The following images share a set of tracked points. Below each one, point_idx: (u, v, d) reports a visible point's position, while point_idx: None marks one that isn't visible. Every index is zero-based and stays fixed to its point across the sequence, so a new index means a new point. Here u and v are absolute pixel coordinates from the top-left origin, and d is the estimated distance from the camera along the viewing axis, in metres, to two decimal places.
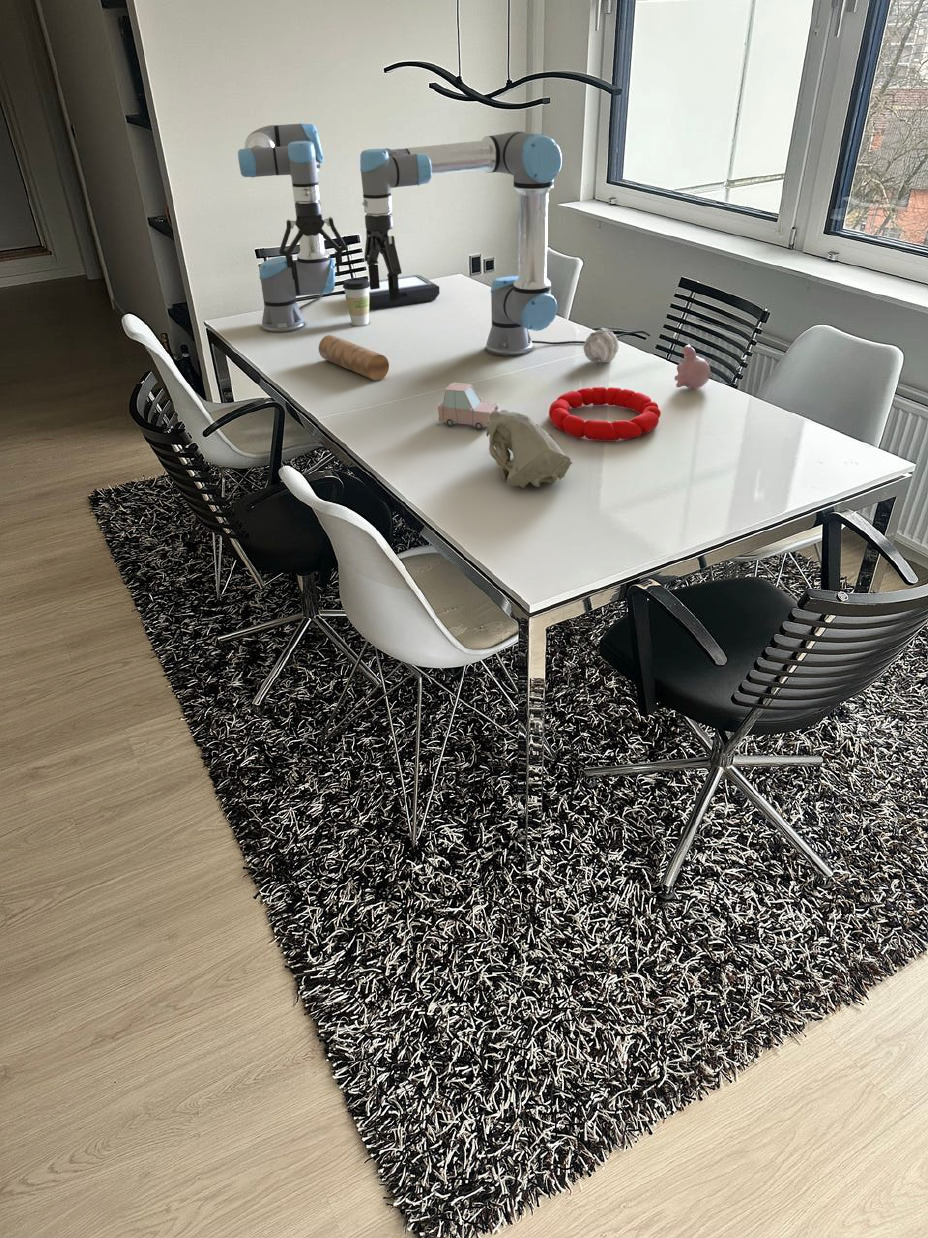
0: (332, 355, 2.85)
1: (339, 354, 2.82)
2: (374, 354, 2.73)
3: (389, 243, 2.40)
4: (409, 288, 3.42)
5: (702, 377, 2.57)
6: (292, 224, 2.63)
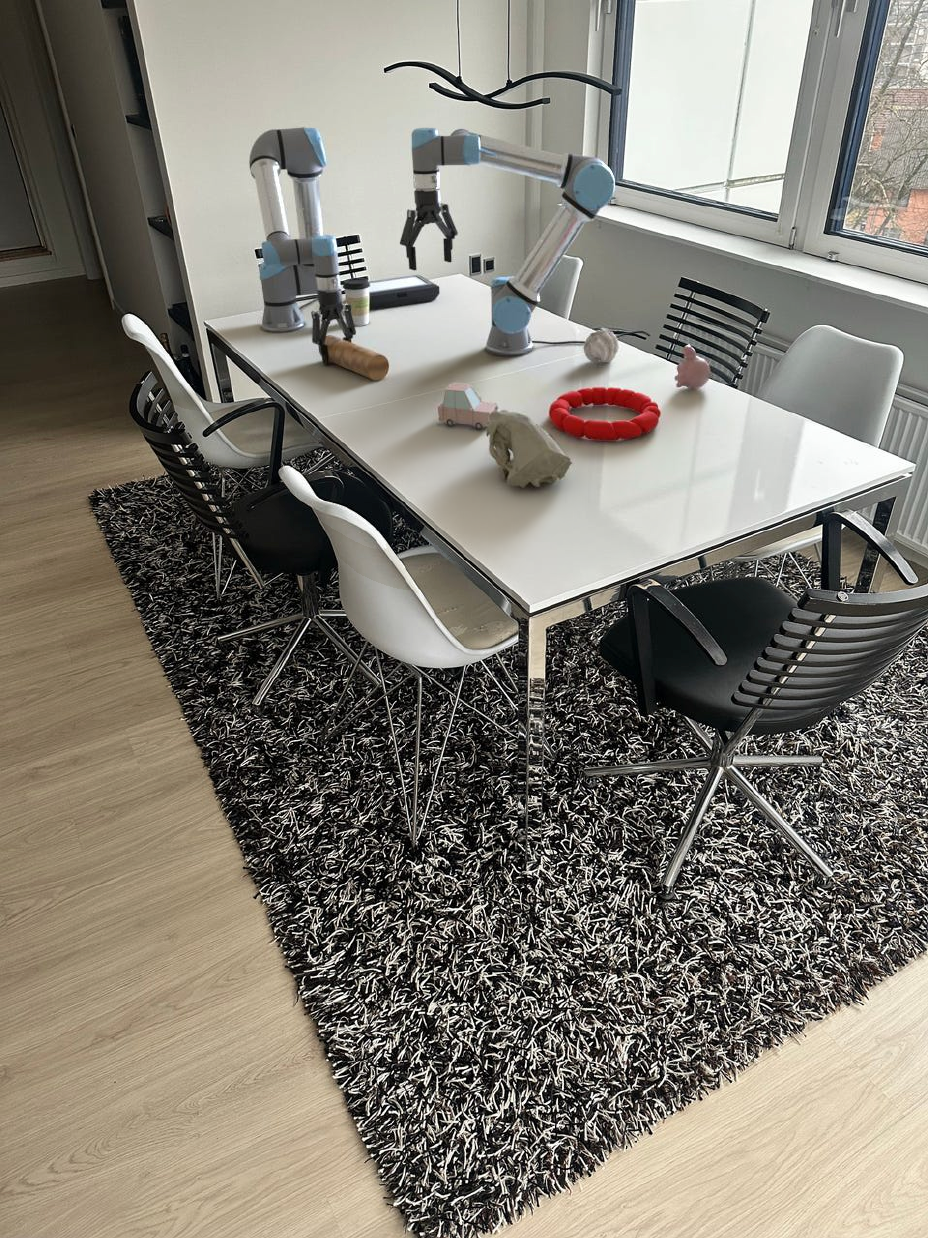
0: (332, 355, 2.85)
1: (339, 354, 2.82)
2: (374, 354, 2.73)
3: None
4: (409, 288, 3.42)
5: (702, 377, 2.57)
6: (318, 314, 2.79)
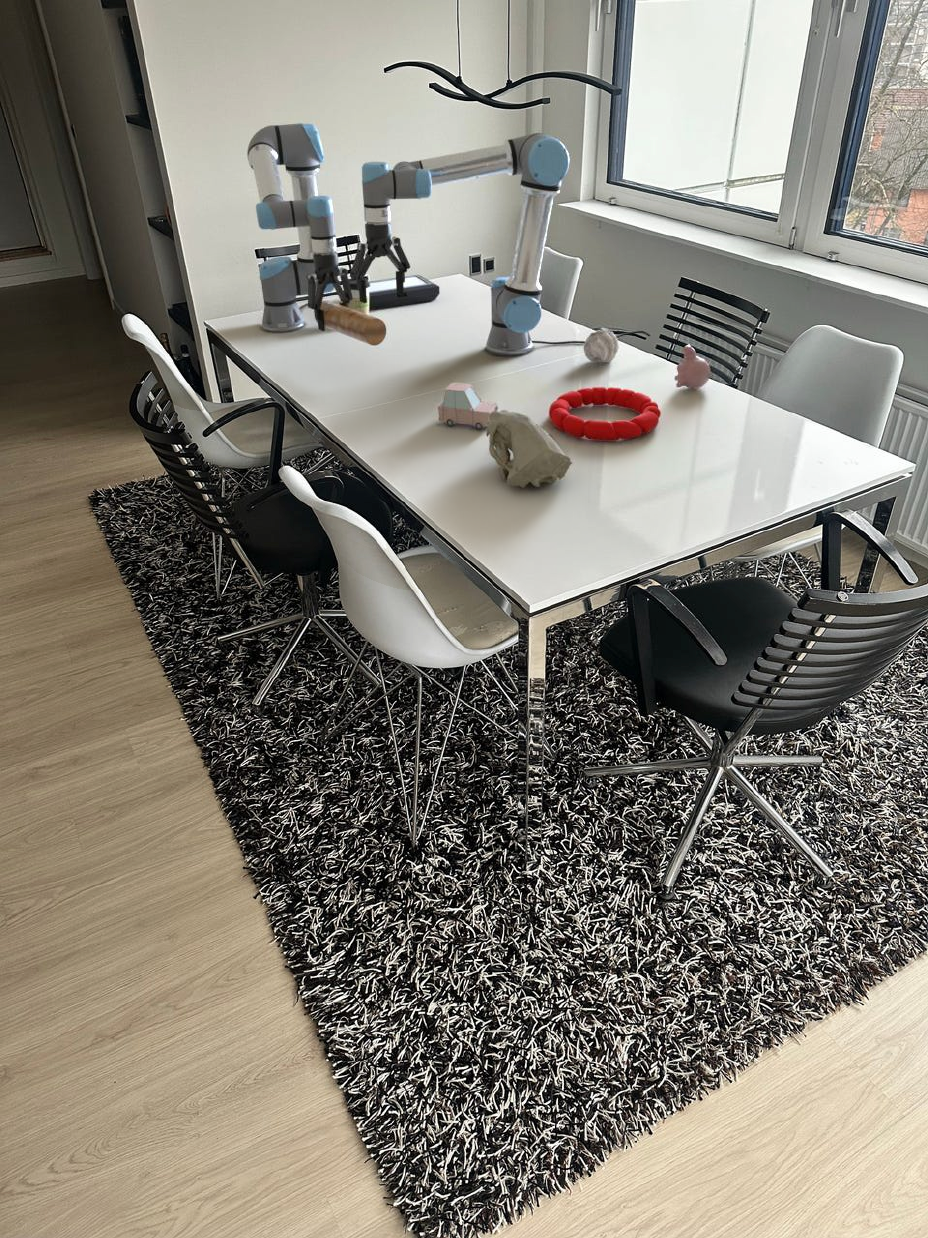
0: (328, 320, 2.79)
1: (335, 319, 2.76)
2: (371, 318, 2.66)
3: None
4: (409, 288, 3.42)
5: (702, 377, 2.57)
6: (314, 277, 2.73)
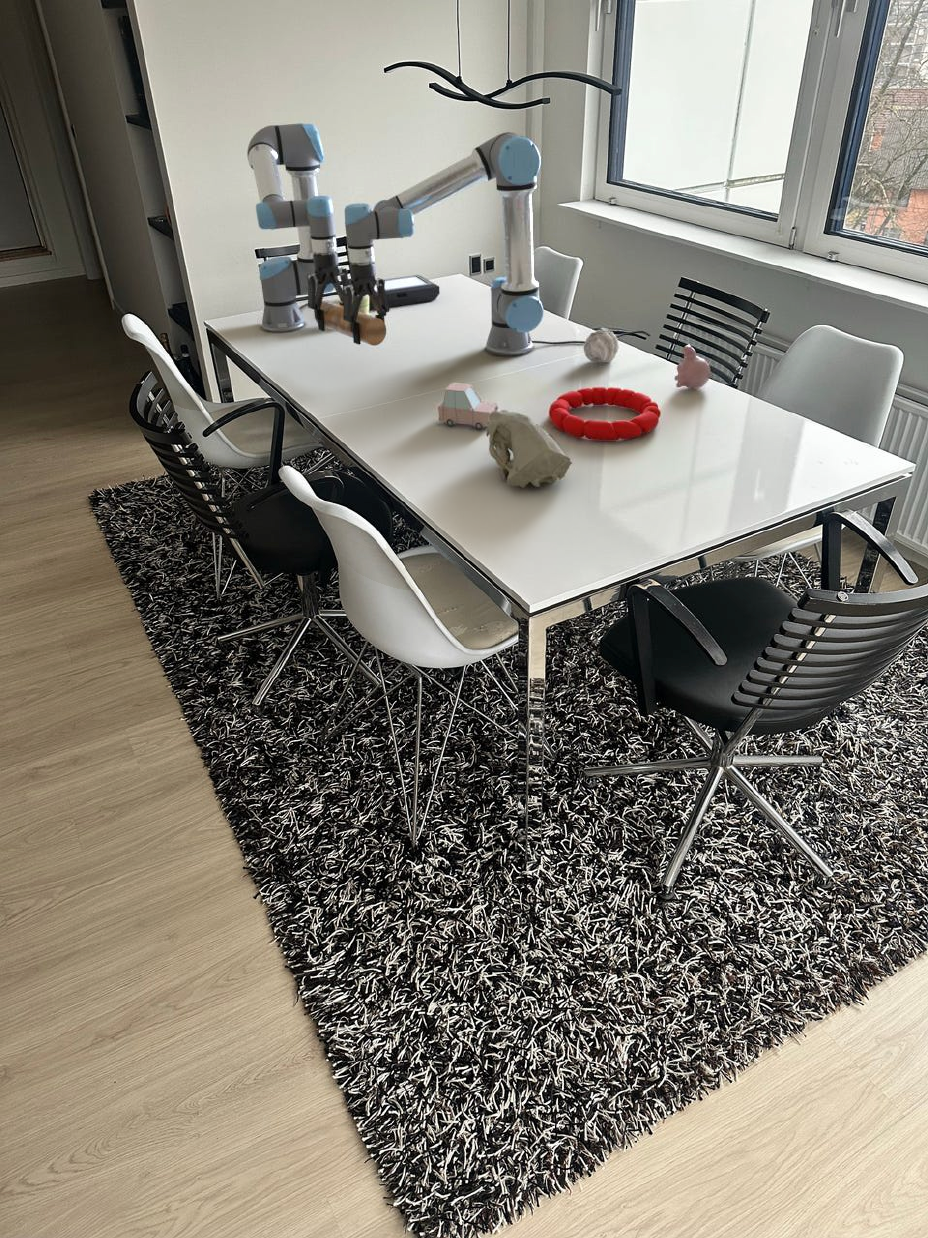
0: (328, 320, 2.79)
1: (335, 319, 2.76)
2: (371, 318, 2.66)
3: None
4: (409, 288, 3.42)
5: (702, 377, 2.57)
6: (314, 277, 2.73)
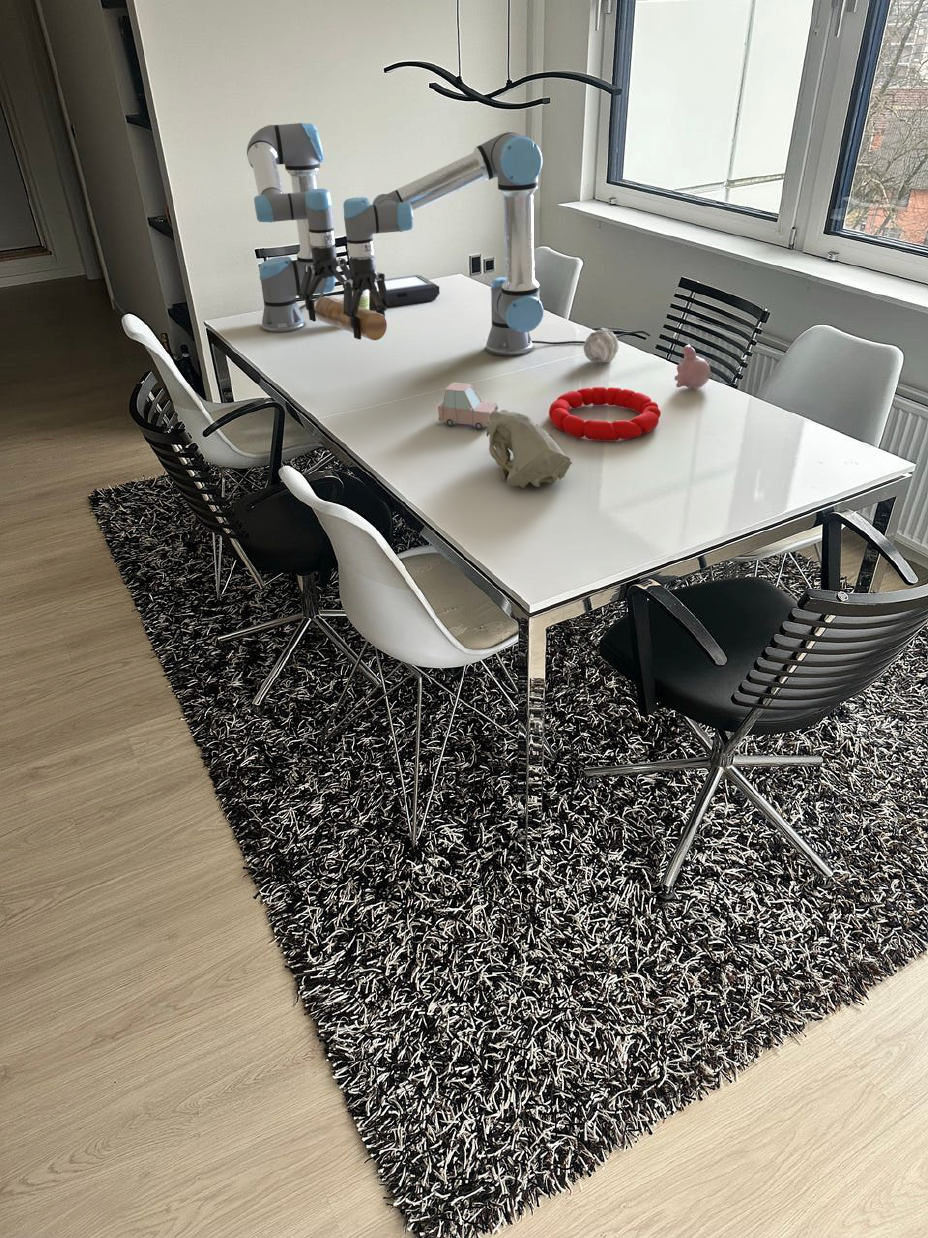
0: (328, 316, 2.78)
1: (336, 315, 2.75)
2: (371, 313, 2.66)
3: None
4: (409, 288, 3.42)
5: (702, 377, 2.57)
6: (312, 269, 2.72)
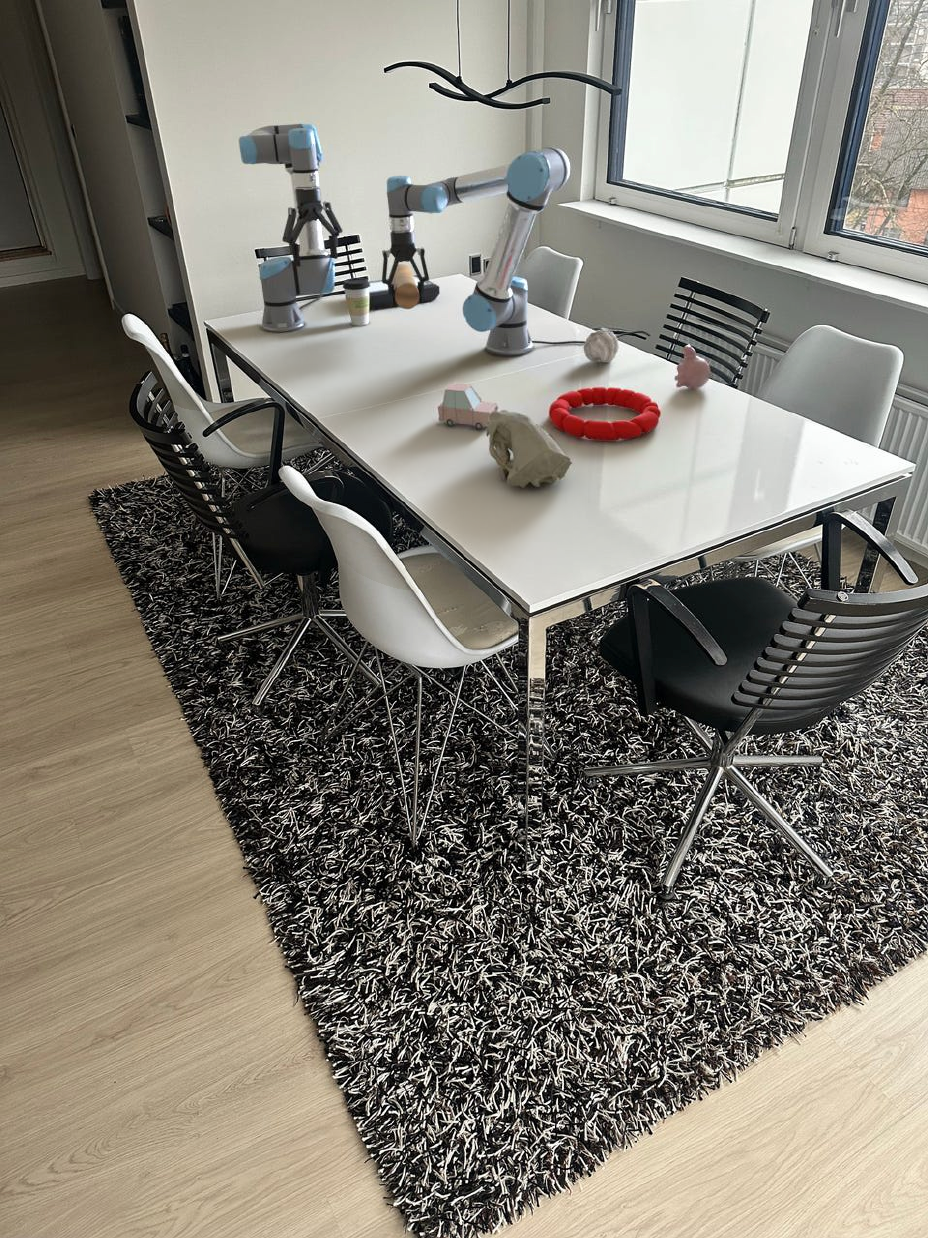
0: None
1: (392, 281, 3.02)
2: (404, 283, 2.89)
3: None
4: None
5: (702, 377, 2.57)
6: (296, 211, 2.67)
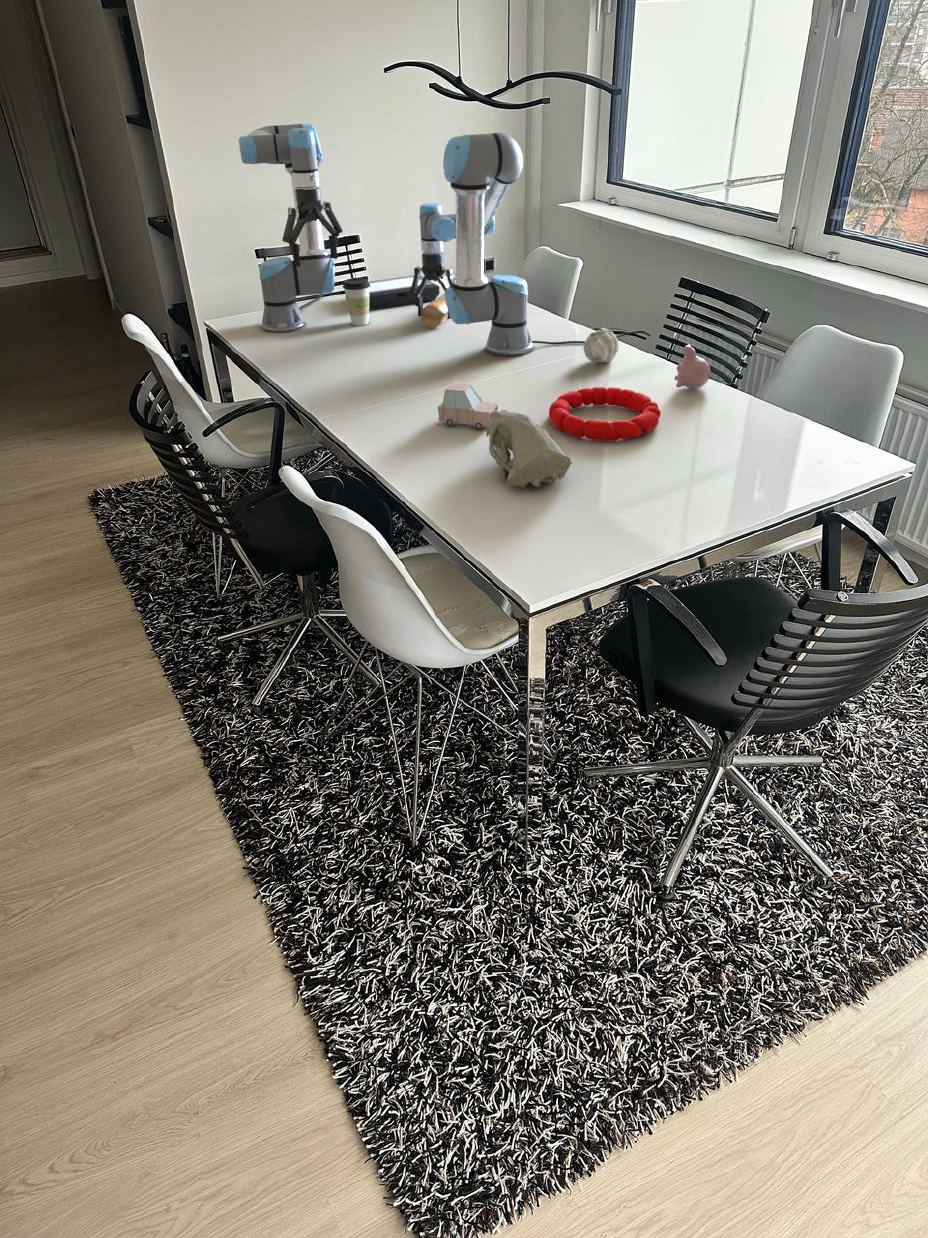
0: None
1: None
2: (430, 304, 3.17)
3: (450, 274, 3.11)
4: (409, 288, 3.42)
5: (702, 377, 2.57)
6: (296, 211, 2.67)
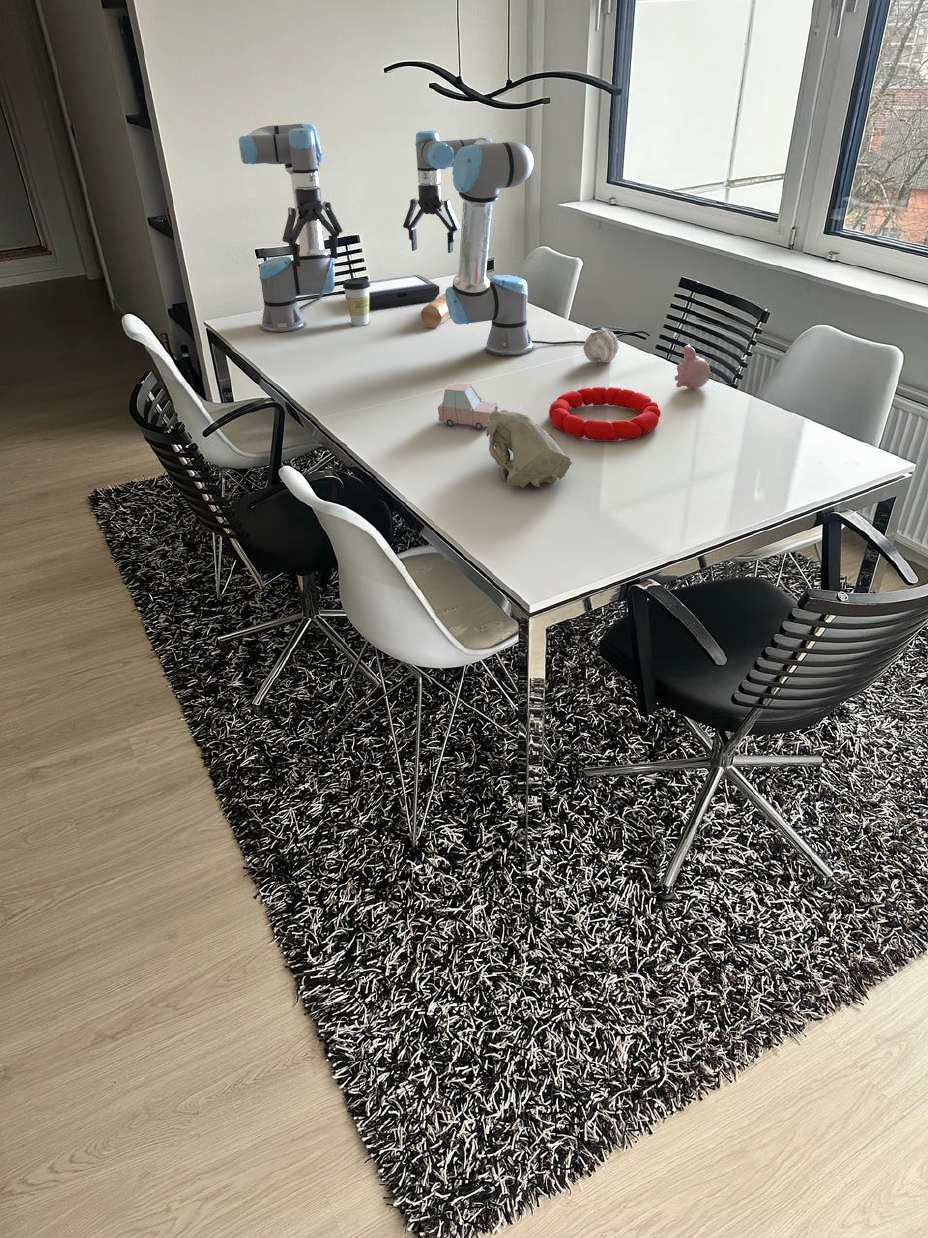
0: None
1: None
2: (430, 304, 3.17)
3: (448, 205, 2.98)
4: (409, 288, 3.42)
5: (702, 377, 2.57)
6: (296, 211, 2.67)
